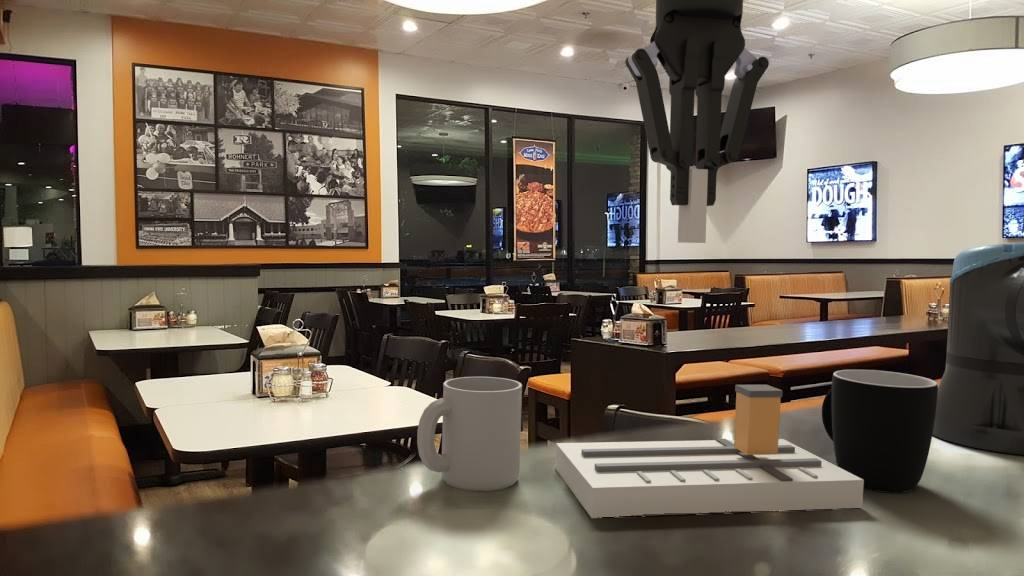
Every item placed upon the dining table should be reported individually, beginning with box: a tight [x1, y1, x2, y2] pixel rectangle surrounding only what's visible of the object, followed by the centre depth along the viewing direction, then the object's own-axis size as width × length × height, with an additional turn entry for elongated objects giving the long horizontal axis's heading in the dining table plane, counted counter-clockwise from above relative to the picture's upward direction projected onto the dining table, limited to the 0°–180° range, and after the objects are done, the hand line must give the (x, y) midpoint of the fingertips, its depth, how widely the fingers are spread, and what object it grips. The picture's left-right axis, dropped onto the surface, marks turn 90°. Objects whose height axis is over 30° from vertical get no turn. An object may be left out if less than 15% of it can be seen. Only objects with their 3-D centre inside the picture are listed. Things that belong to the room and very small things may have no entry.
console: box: [554, 438, 864, 519], centre depth 67 cm, size 24×13×3 cm, turn 100°
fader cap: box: [733, 384, 784, 455], centre depth 68 cm, size 3×3×6 cm
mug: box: [821, 369, 939, 494], centre depth 71 cm, size 12×9×10 cm
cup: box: [416, 376, 523, 492], centre depth 67 cm, size 7×10×9 cm
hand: (691, 242), depth 66 cm, fingers closed
